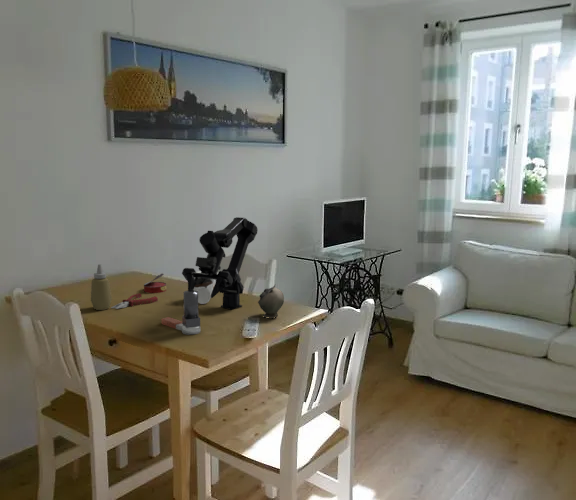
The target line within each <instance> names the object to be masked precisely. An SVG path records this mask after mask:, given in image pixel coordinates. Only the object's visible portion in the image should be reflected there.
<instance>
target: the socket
mask: <svg viewBox="0 0 576 500" xmlns="http://www.w3.org/2000/svg"><path fill="white" fill-rule="evenodd" d="M181 317H182V319H181V321H182V324H183V325H184V326H185V327H186V328H189V327H197V326H200V327H201V317H200V316H199V303H198V291H195V290H188V289H187V290H185V291H183V315H182V316H181Z"/></svg>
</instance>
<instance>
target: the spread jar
mask: <svg viewBox="0 0 576 500" xmlns="http://www.w3.org/2000/svg"><path fill="white" fill-rule="evenodd" d="M198 272H199V273H201V271H198ZM213 288H214V284H213V279H205V278H198V279H197V281H196V285H195V287H194V289H193V290H195V291H198V305H199V304H200V305H205V304H207V303H209V301H210V300H211V299H212V298H211V293H212V291H213Z"/></svg>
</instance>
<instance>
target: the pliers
mask: <svg viewBox="0 0 576 500" xmlns="http://www.w3.org/2000/svg"><path fill="white" fill-rule="evenodd" d="M140 297H141V298H140ZM136 298H138V299H136ZM134 299H135V300H134ZM158 299H159V298H158V297H157V296H152V297H149V298H148V297H147V298H142V294H141V293H139V292H138V293H136V294H132V295H130V296H129V297H128V298H127V299H122V300H121V301H122V302H119V303H117V304H115V305H113V306H111V307H110V309H116V310H118V309H119V310H120V309H124V308H127V307H132V306H133V305H134V306H139V305H140V304H141V305H147V304H153V303H156V302H158ZM134 306H133V307H134Z"/></svg>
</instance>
